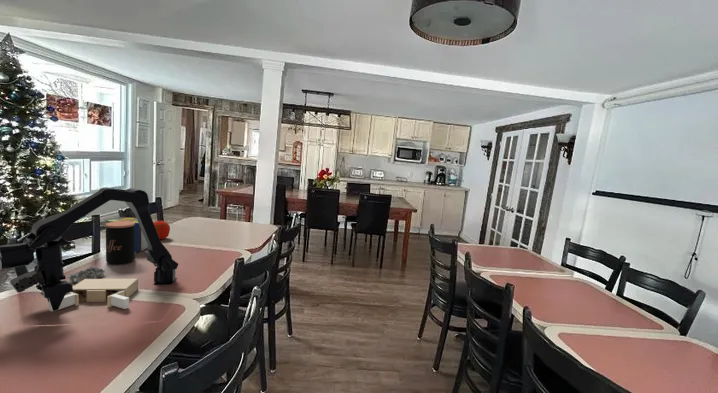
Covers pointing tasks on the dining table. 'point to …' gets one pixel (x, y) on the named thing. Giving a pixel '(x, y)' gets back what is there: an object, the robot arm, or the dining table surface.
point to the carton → (104, 288)
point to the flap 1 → (68, 301)
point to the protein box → (139, 237)
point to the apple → (162, 229)
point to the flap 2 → (118, 300)
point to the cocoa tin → (84, 293)
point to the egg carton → (86, 274)
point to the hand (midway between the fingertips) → (54, 308)
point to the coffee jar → (120, 242)
